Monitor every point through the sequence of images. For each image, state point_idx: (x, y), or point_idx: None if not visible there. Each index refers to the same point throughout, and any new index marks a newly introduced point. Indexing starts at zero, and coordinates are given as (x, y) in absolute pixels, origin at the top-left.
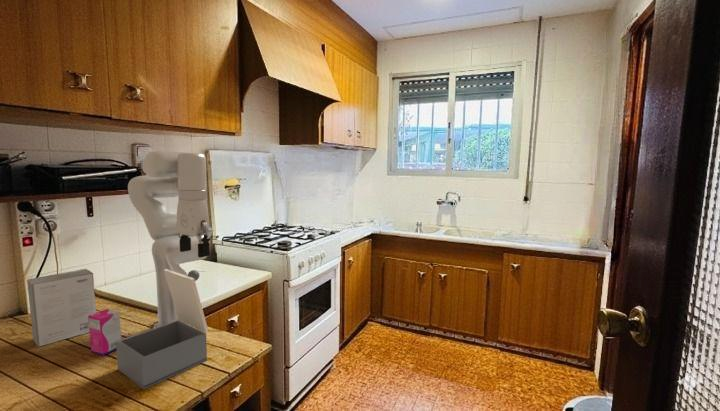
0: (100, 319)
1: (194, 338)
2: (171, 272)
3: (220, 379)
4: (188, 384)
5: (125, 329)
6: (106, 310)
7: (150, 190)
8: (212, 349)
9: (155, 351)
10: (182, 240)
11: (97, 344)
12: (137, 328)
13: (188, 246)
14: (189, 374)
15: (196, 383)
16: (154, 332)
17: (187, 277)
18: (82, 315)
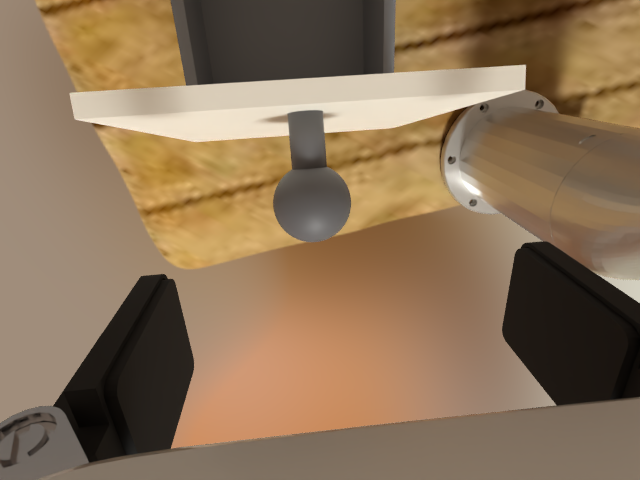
0: None
1: (185, 80)
2: (403, 75)
3: (75, 88)
4: (108, 5)
5: (630, 30)
6: None
7: None
8: (265, 161)
9: (364, 15)
10: (611, 340)
11: None
12: (599, 63)
13: (530, 342)
14: (166, 37)
15: (98, 25)
16: (380, 5)
17: (152, 97)
18: None
